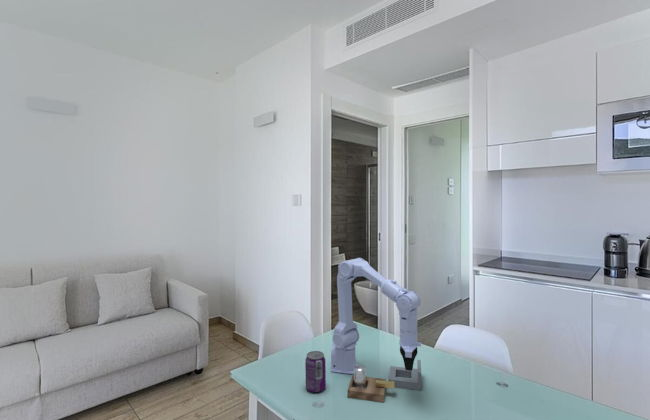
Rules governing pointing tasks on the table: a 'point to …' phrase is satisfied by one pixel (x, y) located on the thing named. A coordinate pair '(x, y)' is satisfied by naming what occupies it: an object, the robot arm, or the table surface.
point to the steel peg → (360, 376)
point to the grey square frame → (402, 372)
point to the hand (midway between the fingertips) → (408, 369)
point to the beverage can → (315, 371)
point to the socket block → (367, 390)
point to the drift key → (385, 384)
